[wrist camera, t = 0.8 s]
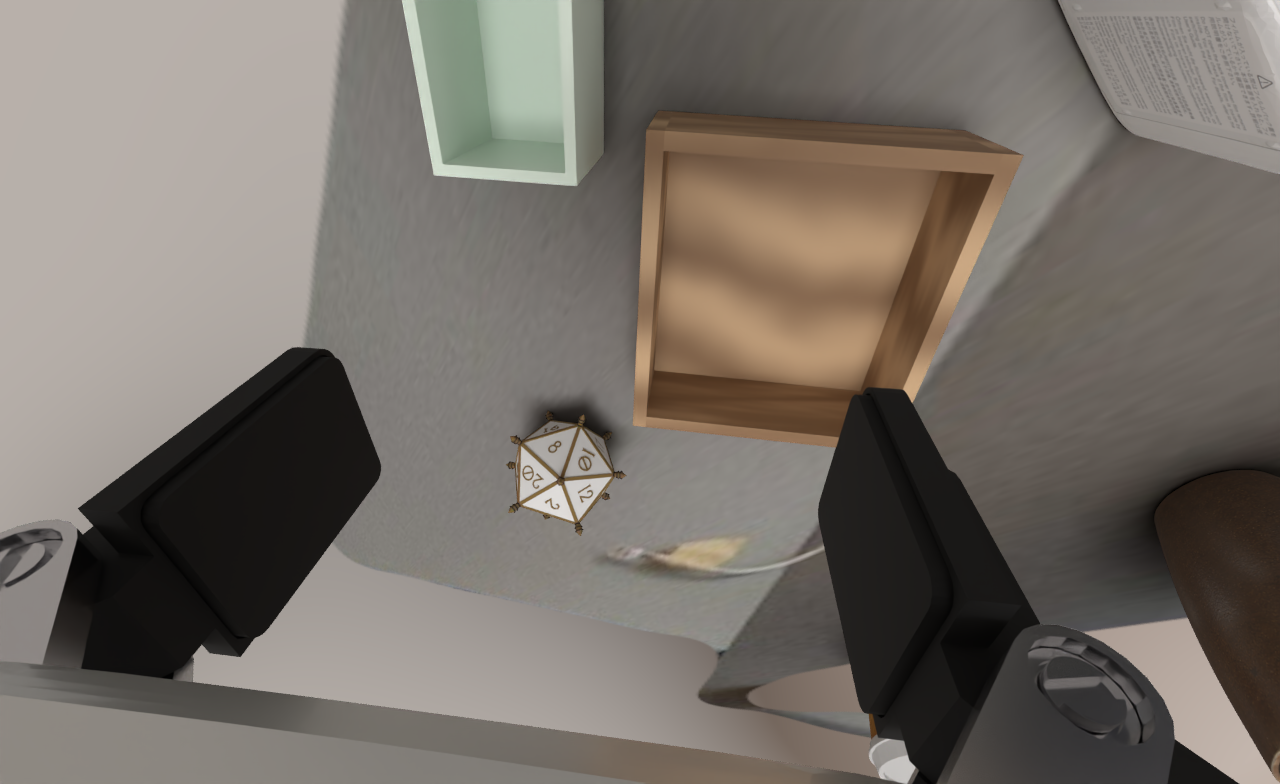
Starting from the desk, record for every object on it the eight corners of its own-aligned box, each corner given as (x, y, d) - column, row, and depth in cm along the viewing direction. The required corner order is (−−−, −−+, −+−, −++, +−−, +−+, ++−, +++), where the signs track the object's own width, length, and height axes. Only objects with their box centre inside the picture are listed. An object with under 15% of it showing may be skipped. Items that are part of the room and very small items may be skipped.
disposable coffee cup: (913, 666, 55) (955, 804, 45) (827, 646, 54) (852, 781, 45) (965, 620, 49) (1027, 767, 39) (870, 598, 49) (909, 740, 39)
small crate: (459, -97, 23) (377, -136, 17) (604, -92, 23) (567, -130, 17) (488, 145, 29) (434, 175, 23) (603, 153, 28) (576, 186, 23)
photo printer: (1228, 75, 23) (1608, 114, 13) (1120, 147, 26) (1381, 227, 16) (1142, -142, 20) (1570, -305, 10) (1026, -38, 22) (1284, -88, 12)
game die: (566, 415, 45) (468, 485, 40) (584, 364, 38) (467, 440, 33) (635, 492, 43) (542, 575, 38) (667, 453, 36) (558, 548, 31)
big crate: (658, 110, 27) (646, 129, 22) (965, 130, 26) (1023, 155, 21) (643, 372, 37) (632, 425, 32) (866, 394, 36) (890, 453, 31)
